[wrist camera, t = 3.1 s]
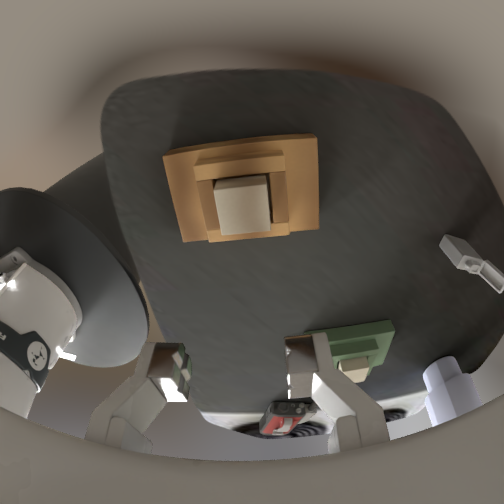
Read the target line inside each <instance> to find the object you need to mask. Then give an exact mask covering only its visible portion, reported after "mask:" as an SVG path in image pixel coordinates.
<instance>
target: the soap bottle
mask: <svg viewBox="0 0 504 504" xmlns="http://www.w3.org/2000/svg"><path fill="white" fill-rule="evenodd" d="M423 379H424V382H425V384H426V387H427V390H428V393H429V394H428V395H427V397H426V398H425V405H426V408H427V411H428V414H429V417H430V420H431V423H432V427H434V426H436V425H439V424H441V423H444V422H447V421H449V420H451V419H454V418H456V417H458V416H461V415H463V414H465V413H467V412H470V411H472V410H474V409H476V408H478V407H480V406H482V405H483V404H482V402H481V399H480V397H479V394H478V392H477V389H476V387H475V385H474V382H473V380H472V378H471V376H470V375H469V374H468V373H465V374H462V372H461V370H460V368H459V366H458V364H457V361H456V359H455V358H454V357H453V356H446V357H443V358H440V359H438V360H437V361H435V362H434V363H432V364H431V365H430V366H429V367H428V368H427V369H426V370H425V372H424V373H423Z"/></svg>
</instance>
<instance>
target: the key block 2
mask: <svg viewBox="0 0 504 504" xmlns="http://www.w3.org/2000/svg"><path fill="white" fill-rule="evenodd" d="M322 332H325V333H326V334H327V338H328V342H329V346H330V351H331V355H332V359H333V364H334V369H338V364H339V361H340V360H346V359H353V358H359V357H364V356H366V357H367V361H368V364H369V370H368V373H367V375H369V374H370V372H371V369H372V367H373V366H377V365H382V363H383V361H384V359H385V356H386V354H387V351H388V349H389V346H390V344H391V341H392V338H393V336H394V333H395V330H394V327H393V325H392V323H391V320H390V319H389V320H383V321H378V322H372V323H366V324H359V325H352V326H346V327H338V328H331V329H323V330H315V331H306V332H304V334H315V333H322ZM367 375H366V376H367Z"/></svg>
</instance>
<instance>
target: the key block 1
mask: <svg viewBox="0 0 504 504" xmlns="http://www.w3.org/2000/svg"><path fill="white" fill-rule="evenodd" d="M163 162H164V166H165V170H166V175H167V179H168V183H169V187H170V192H171V196H172V200H173V204H174V208H175V212H176V216H177V219H178V223H179V227H180V231H181V235H182V238H183V242H189V241H199V240H208V239H209V242H218V241H228V240H238V239H249V238H259V237H270V236H280V235H289V234H290V231H301V230H313V229H319V175H318V146H317V138H316V137H315V136H314V135H313V134H312V133H302V134H287V135H274V136H263V137H253V138H244V139H235V140H227V141H220V142H213V143H207V144H200V145H194V146H188V147H182V148H177V149H172V150H169V151H168V152H167V153H166V154H165V155H164V156H163ZM258 175H266V182H267V191H268V201H269V212H270V222H271V231H262V232H252V233H241V234H231V235H222V234H221V228H220V223H219V218H218V213H217V207H216V202H215V196H214V191H213V190H214V187H215V184H216V181H217V180H223V179H231V178H240V177H249V176H258Z"/></svg>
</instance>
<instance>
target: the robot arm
mask: <svg viewBox="0 0 504 504" xmlns="http://www.w3.org/2000/svg"><path fill="white" fill-rule="evenodd" d="M81 322H82V311H81V308H80V305H79V303H78V301H77V299H76V297H75V295H74V294H73V292H72V291H71V290H70V288H69V287H68V286H67V285H66V284H65V283H64V281H63V280H62V279H61V278H59V277H58V276H57V275H56V274H55V273H54V272H52V271H51V270H50V269H48V268H47V267H45V266H44V265H42V264H40V263H38V262H36V261H35V260H34V259H32V258H31V257H30V256H29V255H28V254H27V253H26V252H25V251H24V250H23V249H22V248H20V247H16V248H15V249H13V250H11V251H10V252H8V253H7V254H5V255H3V256H2V257H0V504H504V394H503V395H501V396H499V397H497V398H495V399H494V400H492V401H490V402H488V403H486V404H484V405H482V406H480V407H478V408H476V409H474V410H472V411H470V412H467V413H465V414H463V415H461V416H458V417H456V418H454V419H451V420H449V421H447V422H444V423H441V424H439V425H436V426H434V427H431V428H428V429H426V430H423V431H420V432H417V433H414V434H411V435H407V436H405V437H401V438H398V439H394V440H391V441H390V437H389V433H388V429H387V425H386V421H385V417H384V413H383V409H382V407H381V406H380V405H379V404H378V403H376V402H375V401H374V400H373V399H372V398H371V397H370V396H368V395H367V394H366V393H365V392H364V391H363V390H362V389H361V388H359V387H358V386H357V385H356V384H355V383H354V382H353V381H352V380H351V379H349V378H348V377H347V376H346V375H345V374H344V373H343V372H342V371H341V370H339V369H334V364H333V359H332V355H331V351H330V346H329V342H328V338H327V334H326V333H325V332H322V333H315V334H304V335H296V336H287V337H284V346H285V363H286V374H287V386H288V396H289V399H291V398H303V397H311V398H312V399H313V400H314V401H315V403H316V404H317V405H318V406H319V407H320V408H321V410H322V411H323V412H324V413H325V414H326V415H327V417H328V418H329V419H330V420H331V421H332V422H333V423H334V427H333V430H332V432H331V435H330V437H329V440H328V442H327V443H328V452H329V454H325V455H318V456H311V457H302V458H293V459H281V460H263V461H214V460H197V459H196V460H195V459H185V458H175V457H167V456H159V455H152V454H151V452H152V445H153V444H152V442H151V441H150V440H149V439H148V438H146V437H145V436H144V435H143V432H144V431H145V430H146V429H147V427H148V426H149V425H150V424H151V422H152V421H153V420H154V419H155V417H156V416H157V415H158V414H159V412H160V411H161V410H162V409H163V407H164V406H165V405H166V404H167V401H184V402H185V401H186V402H187V401H188V395H189V389H190V387H189V385H188V383H187V381H188V380H189V379H190V378H191V375H192V363H191V359H190V357H189V355H188V354H186V353H185V349H186V348H185V346H184V344H183V343H157V342H156V343H155V342H145V343H144V345H143V346H142V349H141V353H140V356H139V359H138V362H137V366H136V369H135V372H134V376H130V377H129V378H128V379H127V380H126V381H125V382H123V383H122V384H121V385H120V386H119V387H118V388H117V389H116V390H115V391H114V392H113V393H112V394H111V395H110V396H109V397H107V398H106V399H105V400H104V401H103V402H102V403H101V404H100V405H99V406H98V407H97V408H96V409H95V410H94V411H93V412H92V415H91V419H90V422H89V425H88V428H87V432H86V435H85V439H81V438H78V437H74V436H71V435H68V434H65V433H62V432H59V431H57V430H54V429H51V428H48V427H46V426H43V425H41V424H38V423H36V422H33V421H31V420H28V419H27V416H28V413H29V411H30V407H31V405H32V402H33V400H34V397H35V394H36V393H38V392H40V390H41V388H42V386H43V385H44V383H45V379H46V377H47V375H48V372H49V371H48V369H51V368H52V367H53V366H54V365H55V363H56V361H57V360H58V358H59V357H63V358H67V359H71V360H75V356H74V355H70V354H66V353H62V352H63V350H64V348H65V347H66V345H67V344H68V342H73V340H74V339H75V337H76V329H77V328H78V327H79V326H80V324H81Z"/></svg>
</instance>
